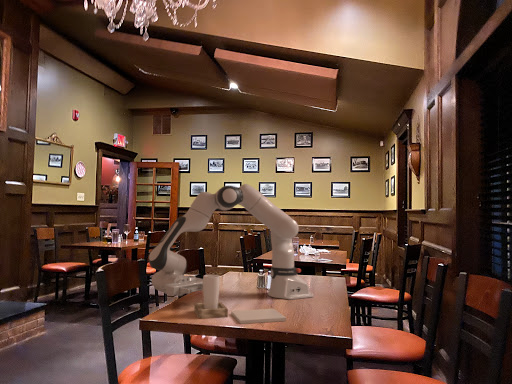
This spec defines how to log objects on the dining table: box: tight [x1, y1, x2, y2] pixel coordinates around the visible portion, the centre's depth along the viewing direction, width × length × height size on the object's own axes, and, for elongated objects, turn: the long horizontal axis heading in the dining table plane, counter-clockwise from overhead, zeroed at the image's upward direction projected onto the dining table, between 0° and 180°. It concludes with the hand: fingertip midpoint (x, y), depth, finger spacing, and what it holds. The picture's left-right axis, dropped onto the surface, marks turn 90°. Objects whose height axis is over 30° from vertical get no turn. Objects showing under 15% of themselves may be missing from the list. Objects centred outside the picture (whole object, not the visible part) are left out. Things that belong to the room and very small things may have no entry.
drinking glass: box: [202, 274, 221, 309], centre depth 149 cm, size 7×7×15 cm
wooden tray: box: [193, 301, 229, 320], centre depth 149 cm, size 11×11×3 cm
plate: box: [230, 308, 287, 325], centre depth 145 cm, size 18×14×1 cm
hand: (199, 289), depth 154 cm, fingers open, 8 cm apart
